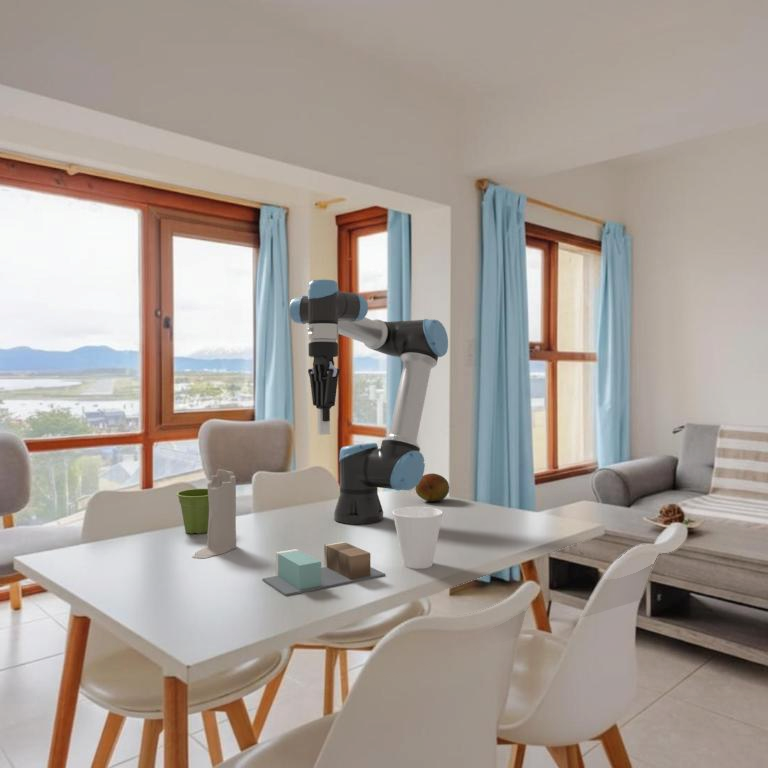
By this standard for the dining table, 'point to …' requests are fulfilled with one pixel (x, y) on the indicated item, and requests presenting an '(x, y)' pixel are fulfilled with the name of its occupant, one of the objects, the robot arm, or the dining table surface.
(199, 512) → the plant pot
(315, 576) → the teal pillar
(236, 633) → the dining table surface
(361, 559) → the walnut pillar
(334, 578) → the slate mat
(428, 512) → the cup
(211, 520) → the grey boot
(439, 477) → the fruit
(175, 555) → the dining table surface
